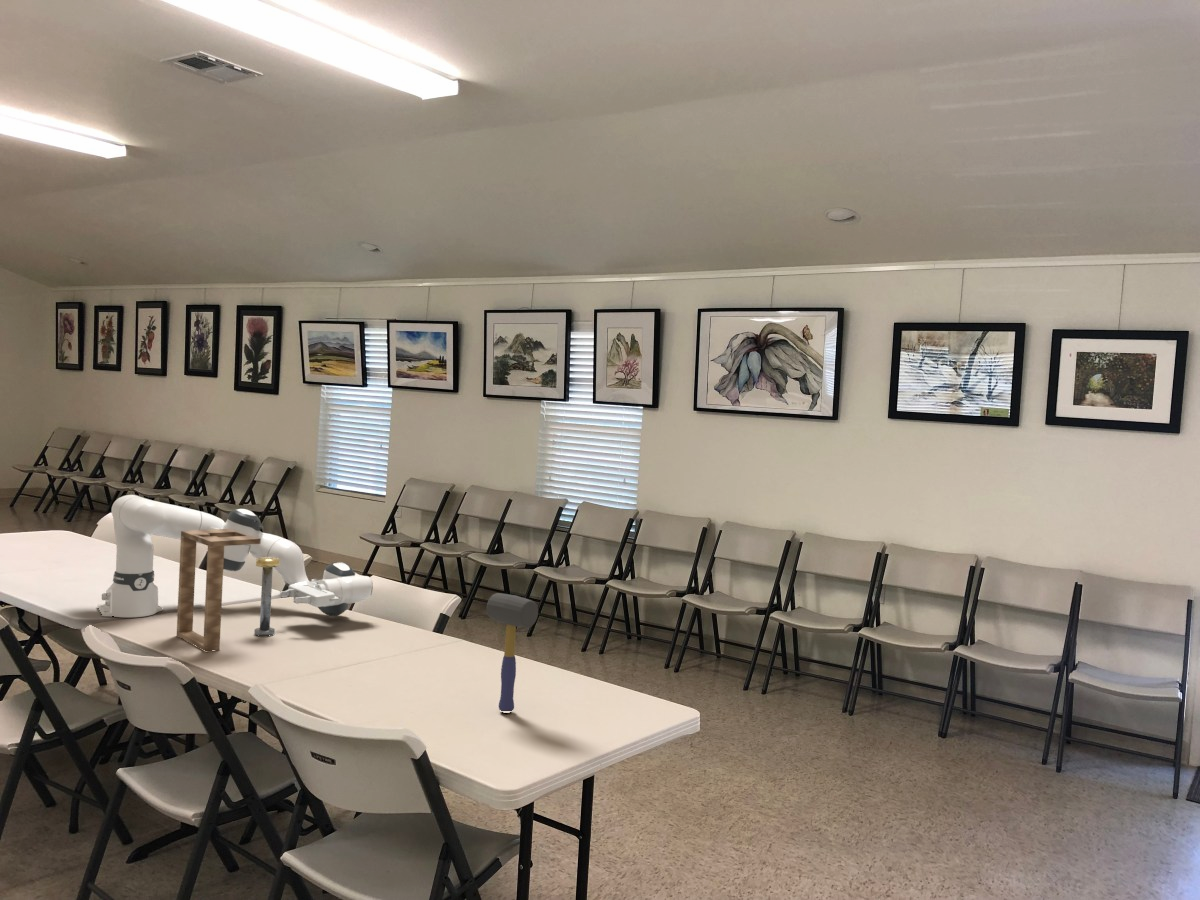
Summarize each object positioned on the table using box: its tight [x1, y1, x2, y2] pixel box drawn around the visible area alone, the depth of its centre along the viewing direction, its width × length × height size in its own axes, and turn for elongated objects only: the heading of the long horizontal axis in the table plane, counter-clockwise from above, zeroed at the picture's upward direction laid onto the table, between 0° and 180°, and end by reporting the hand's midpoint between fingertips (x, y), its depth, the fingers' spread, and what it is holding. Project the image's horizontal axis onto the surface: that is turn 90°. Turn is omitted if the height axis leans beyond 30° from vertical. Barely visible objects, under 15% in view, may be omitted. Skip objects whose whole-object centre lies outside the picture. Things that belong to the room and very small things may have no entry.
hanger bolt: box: [253, 557, 280, 637], centre depth 298 cm, size 7×7×24 cm
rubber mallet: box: [486, 592, 539, 712], centre depth 238 cm, size 12×8×30 cm, turn 54°
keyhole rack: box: [176, 529, 261, 652], centre depth 287 cm, size 15×22×32 cm
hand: (287, 597), depth 301 cm, fingers open, 8 cm apart
